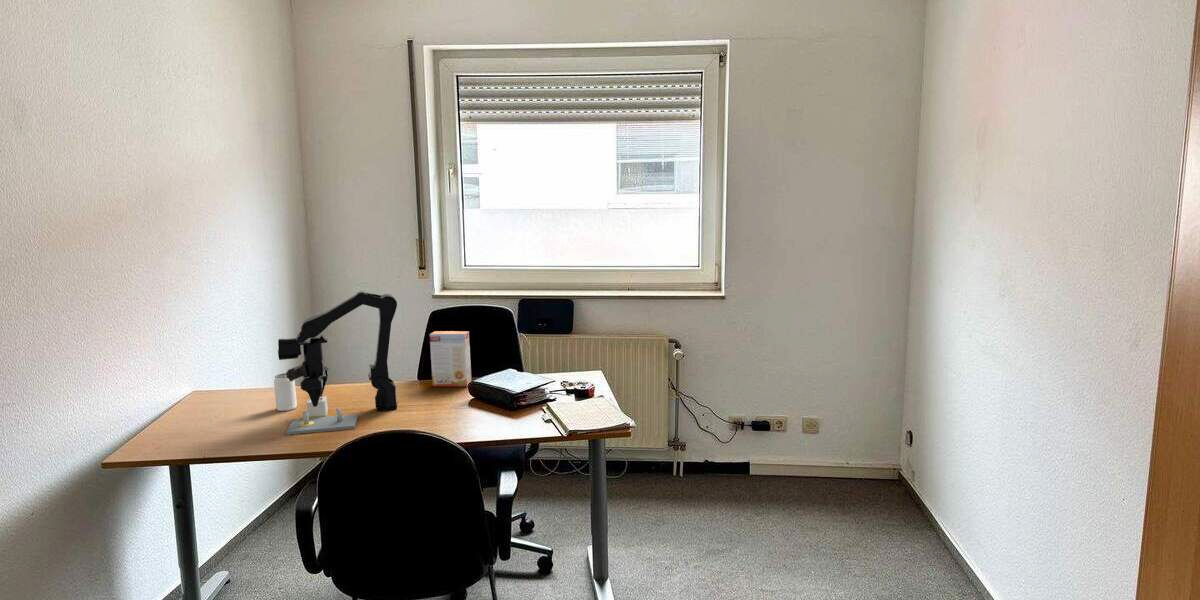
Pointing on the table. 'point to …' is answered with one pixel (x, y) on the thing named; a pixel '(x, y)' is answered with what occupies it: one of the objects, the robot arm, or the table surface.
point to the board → (322, 423)
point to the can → (284, 393)
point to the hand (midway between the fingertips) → (317, 402)
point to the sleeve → (317, 408)
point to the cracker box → (450, 358)
